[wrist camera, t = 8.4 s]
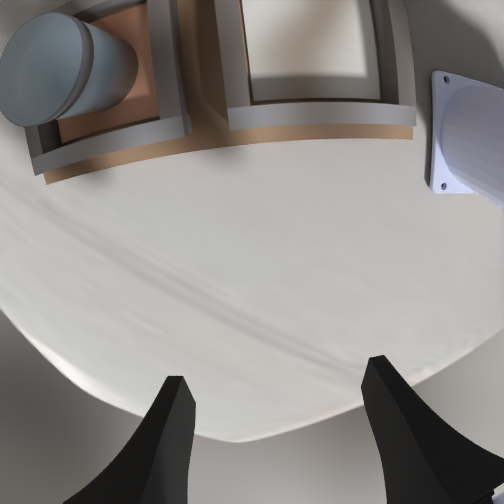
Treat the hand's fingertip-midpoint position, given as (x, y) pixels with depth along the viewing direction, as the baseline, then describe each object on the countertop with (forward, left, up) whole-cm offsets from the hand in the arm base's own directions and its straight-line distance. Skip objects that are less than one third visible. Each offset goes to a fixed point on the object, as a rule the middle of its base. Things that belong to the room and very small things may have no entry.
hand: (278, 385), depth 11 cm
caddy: (+2, -13, -9) cm, 16 cm away
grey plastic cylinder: (+8, -13, -8) cm, 17 cm away
